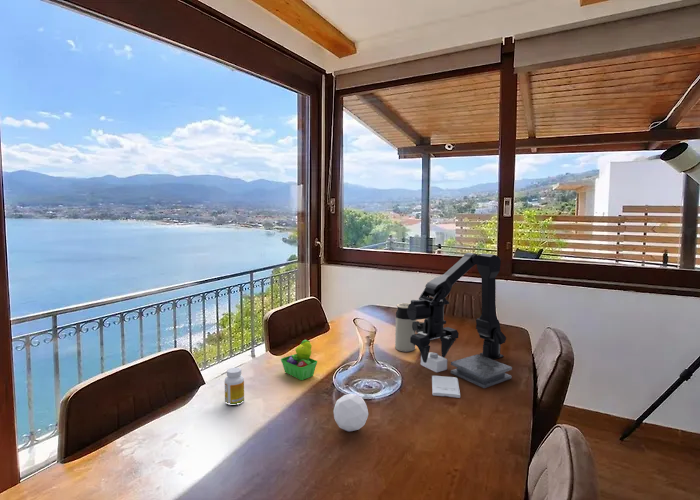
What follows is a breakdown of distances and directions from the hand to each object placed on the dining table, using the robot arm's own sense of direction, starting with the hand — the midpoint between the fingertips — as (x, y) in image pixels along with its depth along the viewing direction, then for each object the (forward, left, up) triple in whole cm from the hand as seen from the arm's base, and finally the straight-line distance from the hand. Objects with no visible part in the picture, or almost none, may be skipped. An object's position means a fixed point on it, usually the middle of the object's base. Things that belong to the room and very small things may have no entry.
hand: (434, 359), depth 143 cm
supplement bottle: (+68, -12, -3) cm, 69 cm away
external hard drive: (+9, +14, -4) cm, 17 cm away
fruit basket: (+43, -20, -3) cm, 48 cm away
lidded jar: (-23, -27, -3) cm, 36 cm away
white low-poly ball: (+46, +17, -3) cm, 49 cm away
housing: (0, 0, -3) cm, 3 cm away
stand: (-8, +14, -3) cm, 16 cm away
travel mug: (-4, -20, -3) cm, 21 cm away
